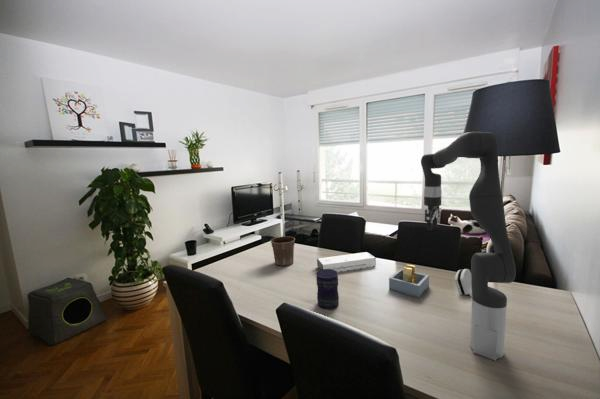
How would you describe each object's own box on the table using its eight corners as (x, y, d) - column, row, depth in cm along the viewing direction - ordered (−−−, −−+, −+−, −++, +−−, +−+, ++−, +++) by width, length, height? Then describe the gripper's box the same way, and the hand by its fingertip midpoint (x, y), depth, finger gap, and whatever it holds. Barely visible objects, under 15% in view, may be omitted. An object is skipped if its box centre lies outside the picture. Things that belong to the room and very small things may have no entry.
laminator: (322, 274, 155) (322, 264, 154) (316, 267, 167) (316, 257, 166) (375, 267, 163) (375, 257, 162) (366, 260, 174) (366, 251, 174)
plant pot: (269, 260, 181) (268, 237, 179) (292, 257, 186) (291, 234, 184) (274, 269, 166) (273, 244, 164) (299, 265, 171) (298, 241, 168)
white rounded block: (471, 297, 121) (463, 276, 122) (460, 298, 125) (452, 277, 126) (478, 284, 134) (470, 264, 135) (467, 284, 137) (460, 266, 138)
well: (418, 298, 123) (419, 285, 122) (389, 289, 133) (389, 278, 132) (428, 286, 134) (429, 275, 133) (400, 279, 143) (400, 268, 143)
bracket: (411, 289, 130) (411, 269, 129) (403, 287, 133) (403, 267, 131) (414, 285, 134) (415, 266, 132) (406, 283, 136) (407, 264, 135)
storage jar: (314, 301, 125) (312, 271, 123) (332, 296, 128) (331, 267, 126) (323, 312, 116) (321, 279, 114) (343, 306, 119) (342, 275, 117)
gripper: (436, 197, 120) (435, 232, 122) (445, 194, 130) (444, 226, 132) (419, 197, 125) (419, 230, 127) (429, 193, 135) (428, 224, 137)
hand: (432, 228), depth 130 cm, fingers open, 8 cm apart
